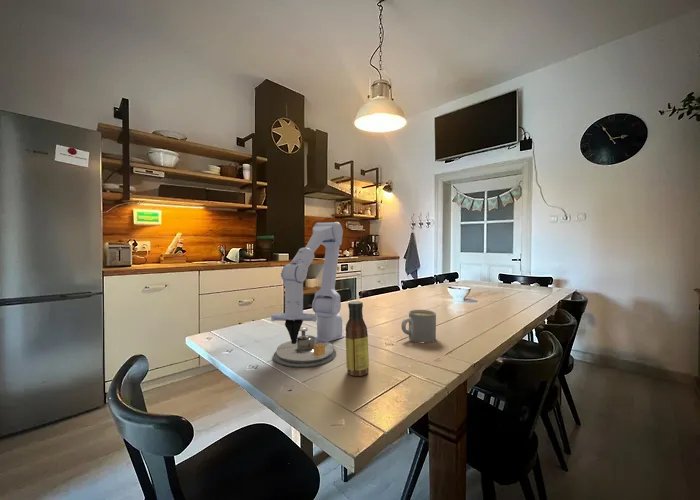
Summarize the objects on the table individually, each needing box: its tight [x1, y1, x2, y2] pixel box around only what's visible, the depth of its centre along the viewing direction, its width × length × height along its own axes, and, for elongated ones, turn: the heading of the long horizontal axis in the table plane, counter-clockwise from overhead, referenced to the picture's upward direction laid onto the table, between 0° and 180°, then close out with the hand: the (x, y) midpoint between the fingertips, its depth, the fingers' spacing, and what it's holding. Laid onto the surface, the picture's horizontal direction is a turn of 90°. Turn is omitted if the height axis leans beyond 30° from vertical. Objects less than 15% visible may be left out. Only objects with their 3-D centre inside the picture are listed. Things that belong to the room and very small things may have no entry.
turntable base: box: [273, 347, 337, 369], centre depth 100 cm, size 20×20×1 cm
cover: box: [297, 334, 315, 351], centre depth 99 cm, size 6×6×4 cm
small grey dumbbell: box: [299, 326, 308, 336], centre depth 112 cm, size 3×3×5 cm
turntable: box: [276, 339, 334, 363], centre depth 100 cm, size 18×18×4 cm
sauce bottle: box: [345, 300, 370, 377], centre depth 86 cm, size 6×6×20 cm
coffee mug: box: [401, 309, 437, 343], centre depth 116 cm, size 13×10×10 cm
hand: (294, 342), depth 100 cm, fingers closed
